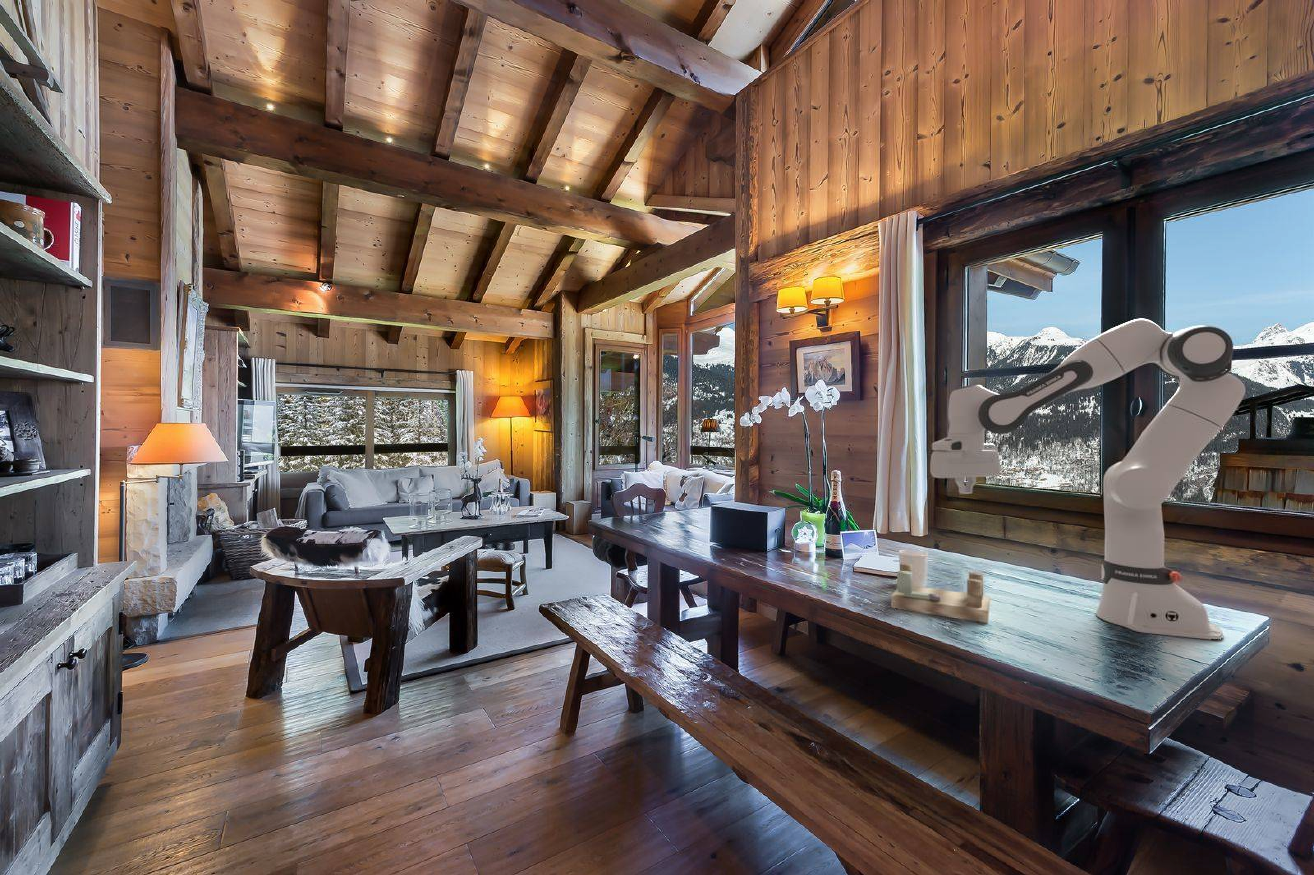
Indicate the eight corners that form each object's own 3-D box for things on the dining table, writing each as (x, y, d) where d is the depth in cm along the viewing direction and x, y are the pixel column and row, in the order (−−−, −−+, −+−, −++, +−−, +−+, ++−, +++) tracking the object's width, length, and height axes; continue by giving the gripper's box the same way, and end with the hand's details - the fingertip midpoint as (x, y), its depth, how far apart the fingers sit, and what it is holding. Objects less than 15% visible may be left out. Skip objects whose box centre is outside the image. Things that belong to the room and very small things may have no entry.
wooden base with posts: (989, 607, 146) (989, 572, 146) (987, 623, 135) (988, 585, 135) (899, 594, 158) (899, 562, 158) (891, 607, 147) (891, 572, 146)
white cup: (921, 582, 170) (921, 549, 170) (931, 589, 163) (932, 555, 162) (895, 581, 171) (895, 549, 171) (903, 589, 163) (904, 555, 163)
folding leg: (940, 598, 144) (940, 575, 144) (939, 602, 141) (939, 578, 141) (898, 592, 149) (898, 570, 149) (896, 596, 146) (896, 573, 146)
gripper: (988, 443, 160) (987, 491, 160) (926, 443, 155) (926, 493, 155) (1006, 443, 154) (1006, 493, 154) (943, 444, 149) (942, 496, 149)
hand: (965, 493), depth 155 cm, fingers closed
